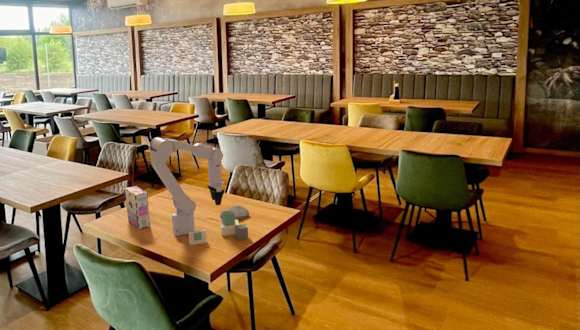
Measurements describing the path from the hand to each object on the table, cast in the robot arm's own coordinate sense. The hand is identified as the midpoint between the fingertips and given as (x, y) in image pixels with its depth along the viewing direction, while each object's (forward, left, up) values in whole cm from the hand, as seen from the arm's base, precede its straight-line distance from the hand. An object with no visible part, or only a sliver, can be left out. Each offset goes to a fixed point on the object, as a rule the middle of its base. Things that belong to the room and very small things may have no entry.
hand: (216, 202), depth 215 cm
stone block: (+10, +4, -10) cm, 15 cm away
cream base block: (+3, -12, -10) cm, 16 cm away
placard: (-12, -19, -10) cm, 25 cm away
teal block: (+3, -12, -6) cm, 14 cm away
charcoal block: (+6, -21, -10) cm, 24 cm away
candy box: (-34, +12, -10) cm, 37 cm away
